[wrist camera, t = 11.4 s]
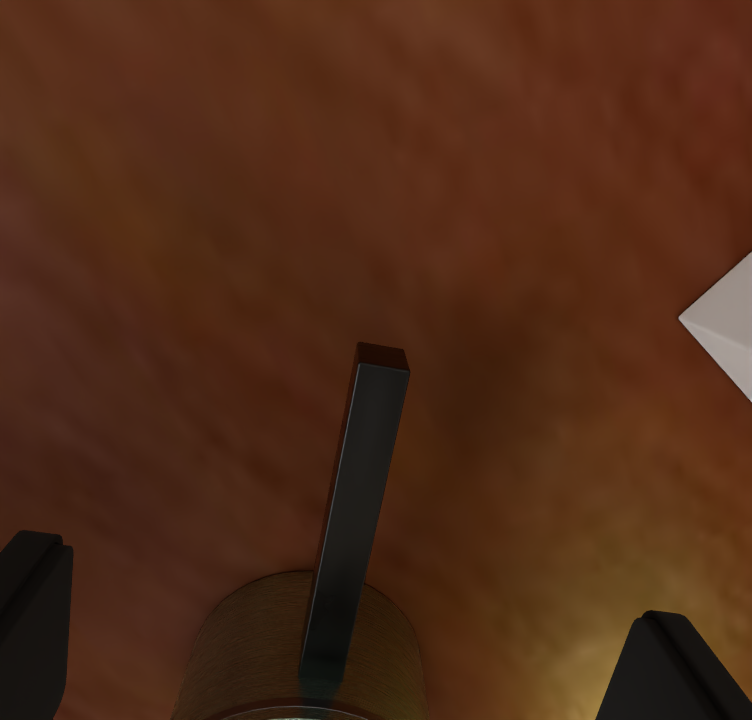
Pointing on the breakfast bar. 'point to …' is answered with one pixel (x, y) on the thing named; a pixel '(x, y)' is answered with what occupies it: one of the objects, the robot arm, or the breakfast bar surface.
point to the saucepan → (321, 597)
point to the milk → (727, 323)
